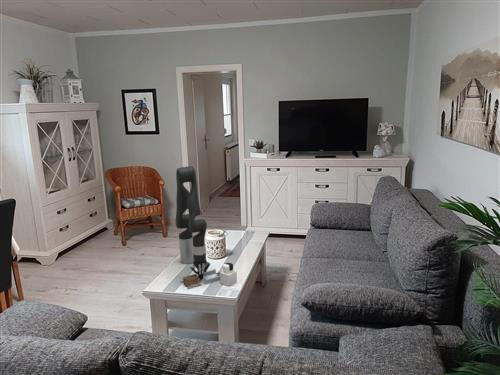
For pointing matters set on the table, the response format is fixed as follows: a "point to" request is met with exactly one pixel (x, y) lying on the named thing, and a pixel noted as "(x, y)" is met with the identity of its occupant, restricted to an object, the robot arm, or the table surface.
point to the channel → (211, 278)
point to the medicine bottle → (228, 275)
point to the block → (190, 280)
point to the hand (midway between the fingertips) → (201, 279)
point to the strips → (192, 286)
